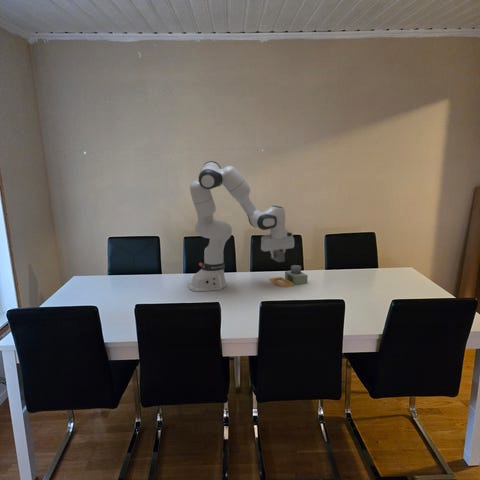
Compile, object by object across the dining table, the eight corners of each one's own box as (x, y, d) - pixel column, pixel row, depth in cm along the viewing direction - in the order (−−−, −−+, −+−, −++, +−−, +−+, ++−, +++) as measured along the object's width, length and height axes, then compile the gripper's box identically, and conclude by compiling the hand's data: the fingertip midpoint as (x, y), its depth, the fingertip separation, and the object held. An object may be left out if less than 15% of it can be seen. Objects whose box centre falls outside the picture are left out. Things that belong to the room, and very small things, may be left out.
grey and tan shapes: (281, 287, 221) (281, 272, 219) (270, 280, 234) (270, 266, 232) (307, 283, 228) (308, 268, 226) (295, 277, 240) (296, 263, 239)
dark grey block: (278, 262, 218) (278, 253, 217) (270, 258, 227) (270, 249, 226) (284, 261, 219) (284, 253, 218) (277, 257, 228) (276, 249, 227)
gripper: (263, 236, 213) (263, 260, 216) (295, 233, 220) (295, 256, 223) (258, 234, 219) (259, 257, 222) (290, 231, 226) (290, 253, 229)
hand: (277, 257), depth 223 cm, fingers closed on dark grey block, 4 cm apart
